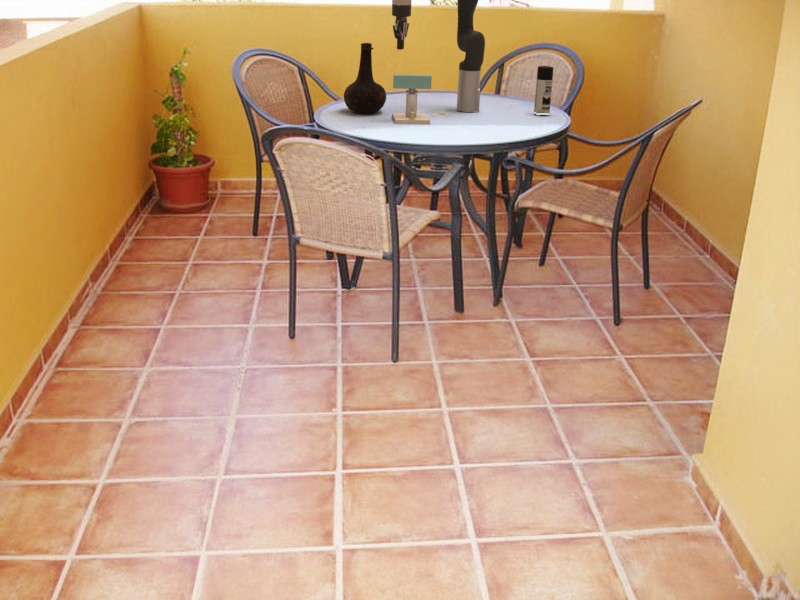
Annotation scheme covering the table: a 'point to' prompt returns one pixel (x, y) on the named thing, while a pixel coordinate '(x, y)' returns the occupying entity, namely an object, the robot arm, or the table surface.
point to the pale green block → (412, 82)
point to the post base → (411, 113)
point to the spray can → (543, 89)
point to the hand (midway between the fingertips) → (400, 49)
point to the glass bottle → (365, 87)
